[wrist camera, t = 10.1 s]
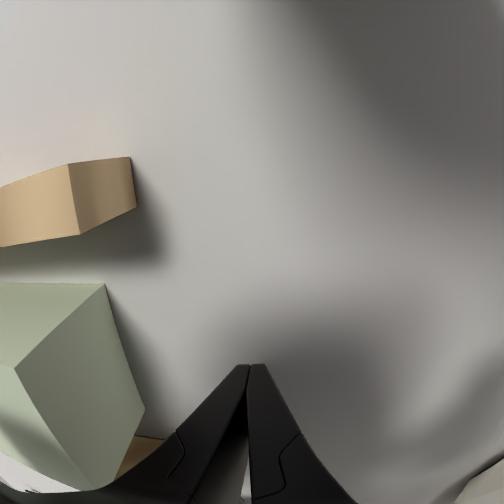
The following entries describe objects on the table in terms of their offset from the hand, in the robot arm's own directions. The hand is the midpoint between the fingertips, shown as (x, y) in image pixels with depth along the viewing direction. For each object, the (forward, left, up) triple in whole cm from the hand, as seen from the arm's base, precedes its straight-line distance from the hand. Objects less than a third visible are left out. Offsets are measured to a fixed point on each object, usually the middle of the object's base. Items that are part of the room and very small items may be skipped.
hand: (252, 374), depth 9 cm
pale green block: (+8, 0, -1) cm, 8 cm away
